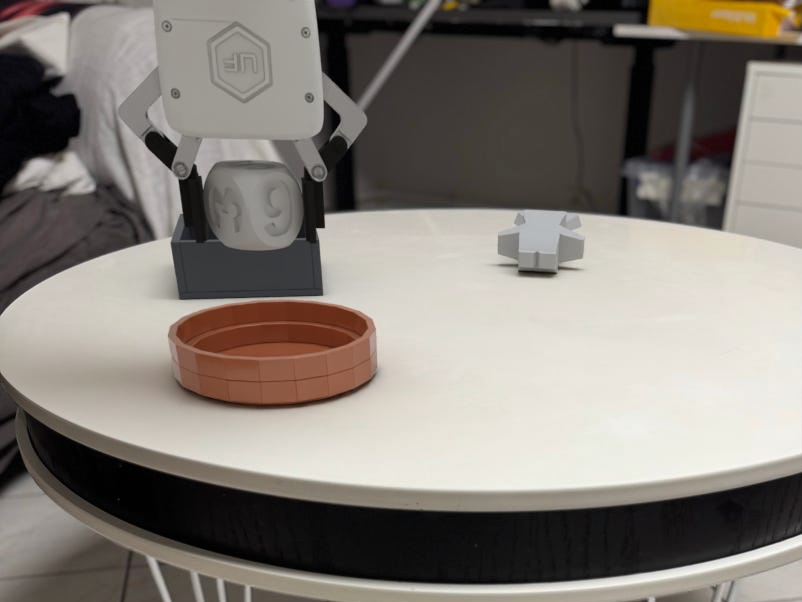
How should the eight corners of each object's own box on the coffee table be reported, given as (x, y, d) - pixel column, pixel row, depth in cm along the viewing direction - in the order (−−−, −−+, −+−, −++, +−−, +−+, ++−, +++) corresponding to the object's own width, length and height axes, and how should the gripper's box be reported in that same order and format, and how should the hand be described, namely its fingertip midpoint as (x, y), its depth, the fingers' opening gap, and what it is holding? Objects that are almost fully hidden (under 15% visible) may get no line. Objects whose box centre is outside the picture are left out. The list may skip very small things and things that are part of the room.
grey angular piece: (492, 234, 95) (509, 192, 106) (491, 283, 98) (508, 237, 109) (583, 239, 94) (590, 196, 105) (579, 289, 97) (586, 242, 108)
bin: (179, 299, 86) (170, 242, 83) (187, 265, 97) (179, 213, 94) (323, 295, 89) (319, 239, 86) (315, 262, 100) (312, 212, 97)
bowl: (169, 413, 63) (160, 363, 61) (182, 346, 75) (175, 302, 73) (387, 403, 66) (385, 354, 63) (366, 339, 78) (364, 296, 76)
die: (262, 232, 68) (255, 157, 65) (307, 244, 65) (302, 166, 62) (206, 241, 64) (197, 163, 62) (252, 254, 62) (244, 173, 59)
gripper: (63, -93, 50) (123, 251, 60) (379, -72, 53) (384, 251, 63) (84, -84, 56) (135, 227, 66) (366, -66, 59) (373, 229, 69)
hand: (257, 237), depth 65 cm, fingers closed on die, 7 cm apart
